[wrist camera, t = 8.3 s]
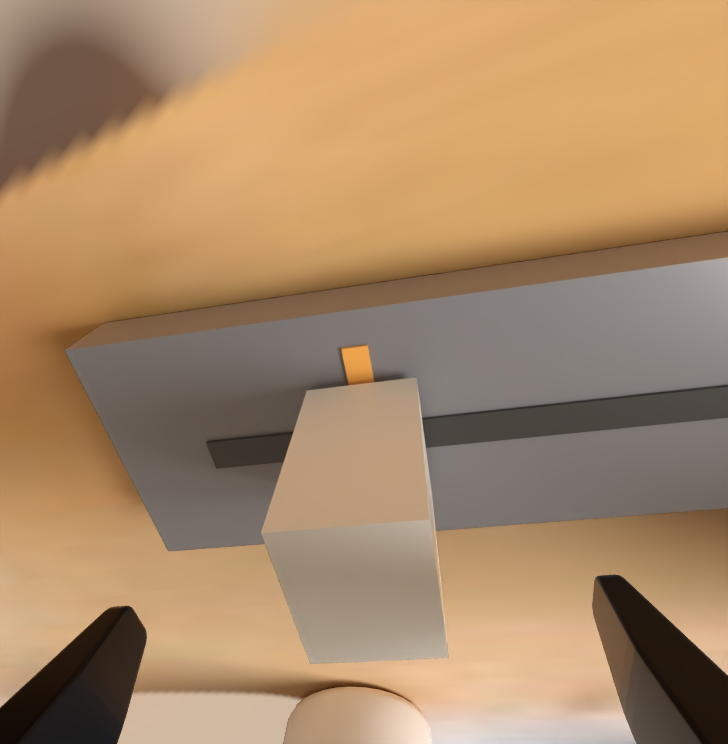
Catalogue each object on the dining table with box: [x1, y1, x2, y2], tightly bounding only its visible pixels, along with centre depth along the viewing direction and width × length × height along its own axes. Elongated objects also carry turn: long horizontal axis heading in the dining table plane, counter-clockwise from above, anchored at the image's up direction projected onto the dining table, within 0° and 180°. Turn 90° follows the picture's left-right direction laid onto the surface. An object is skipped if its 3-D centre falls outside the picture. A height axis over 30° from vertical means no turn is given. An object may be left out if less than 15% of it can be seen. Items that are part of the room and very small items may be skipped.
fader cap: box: [261, 377, 449, 664], centre depth 11 cm, size 4×3×5 cm
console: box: [64, 231, 728, 551], centre depth 14 cm, size 8×24×2 cm, turn 100°
